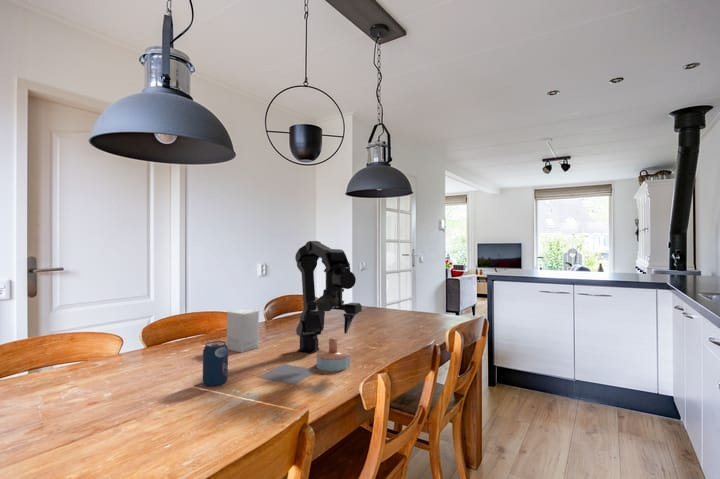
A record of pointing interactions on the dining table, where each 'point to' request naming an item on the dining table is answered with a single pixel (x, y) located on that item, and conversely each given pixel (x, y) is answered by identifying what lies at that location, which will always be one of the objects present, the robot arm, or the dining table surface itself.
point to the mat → (288, 374)
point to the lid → (332, 351)
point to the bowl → (333, 364)
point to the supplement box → (242, 330)
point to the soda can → (215, 363)
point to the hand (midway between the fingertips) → (333, 332)
